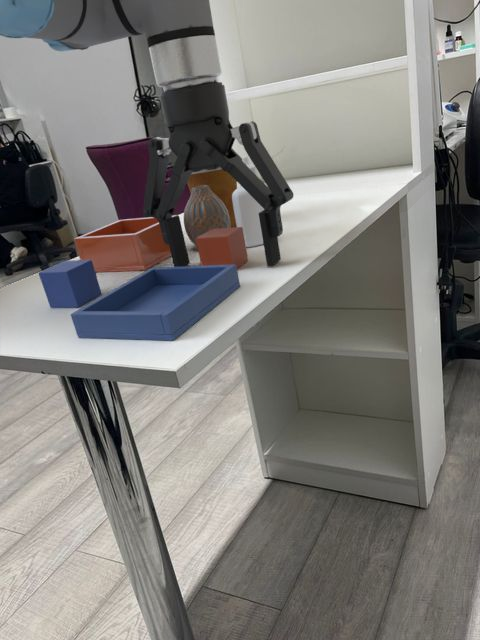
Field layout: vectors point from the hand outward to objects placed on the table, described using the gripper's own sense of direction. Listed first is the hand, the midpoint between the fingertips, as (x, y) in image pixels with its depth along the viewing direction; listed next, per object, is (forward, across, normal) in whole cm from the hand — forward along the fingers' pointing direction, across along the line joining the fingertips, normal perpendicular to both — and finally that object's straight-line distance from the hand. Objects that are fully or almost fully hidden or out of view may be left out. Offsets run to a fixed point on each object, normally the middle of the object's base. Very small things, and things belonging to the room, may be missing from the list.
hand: (226, 265), depth 70 cm
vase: (0, +8, -11) cm, 14 cm away
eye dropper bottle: (0, 0, -11) cm, 11 cm away
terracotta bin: (0, +18, -5) cm, 19 cm away
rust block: (0, 0, 0) cm, 0 cm away
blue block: (0, +15, +12) cm, 19 cm away
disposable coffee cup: (0, +12, -22) cm, 25 cm away
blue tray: (0, 0, +15) cm, 15 cm away
